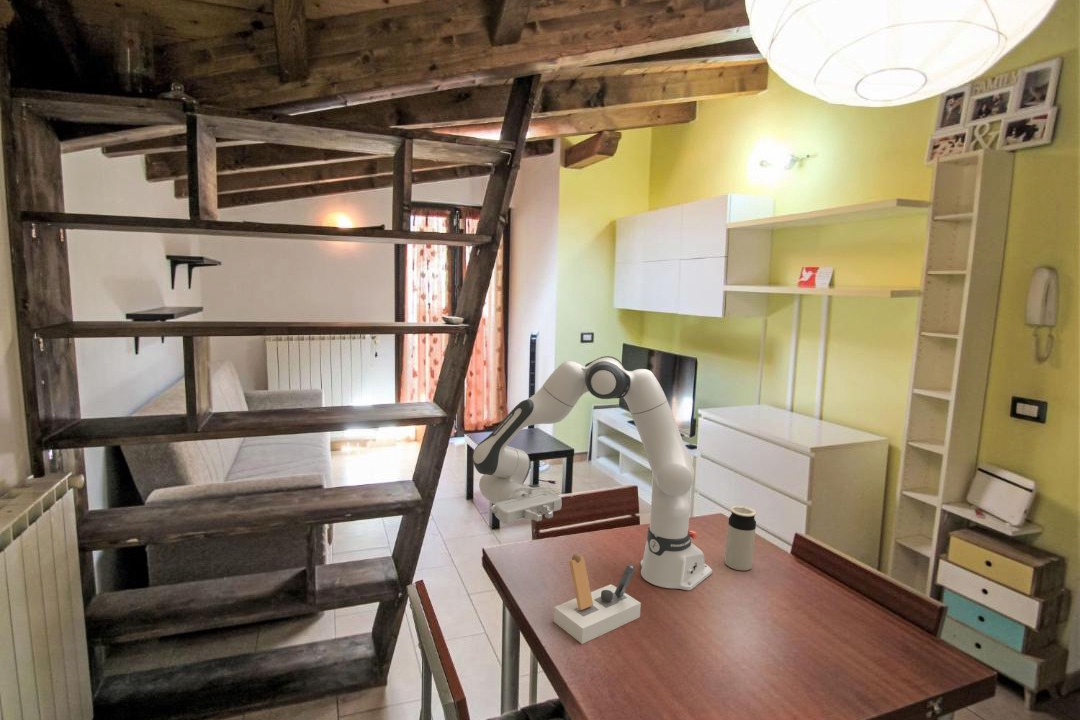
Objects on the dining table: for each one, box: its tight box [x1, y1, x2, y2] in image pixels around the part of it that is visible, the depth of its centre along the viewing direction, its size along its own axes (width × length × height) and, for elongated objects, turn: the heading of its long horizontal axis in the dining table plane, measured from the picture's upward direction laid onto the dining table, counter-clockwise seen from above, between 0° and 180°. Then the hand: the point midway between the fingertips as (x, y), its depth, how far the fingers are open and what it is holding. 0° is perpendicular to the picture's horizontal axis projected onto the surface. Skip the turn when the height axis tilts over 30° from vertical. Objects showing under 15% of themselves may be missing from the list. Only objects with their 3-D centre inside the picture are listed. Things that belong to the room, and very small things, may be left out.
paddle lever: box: [568, 553, 593, 610], centre depth 147 cm, size 4×2×13 cm, turn 127°
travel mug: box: [724, 505, 757, 572], centre depth 180 cm, size 8×8×18 cm
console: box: [553, 583, 642, 645], centre depth 149 cm, size 20×11×4 cm, turn 127°
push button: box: [601, 590, 613, 601], centre depth 150 cm, size 3×3×1 cm
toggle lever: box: [615, 564, 636, 598], centre depth 150 cm, size 2×2×10 cm
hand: (545, 516), depth 158 cm, fingers open, 2 cm apart
